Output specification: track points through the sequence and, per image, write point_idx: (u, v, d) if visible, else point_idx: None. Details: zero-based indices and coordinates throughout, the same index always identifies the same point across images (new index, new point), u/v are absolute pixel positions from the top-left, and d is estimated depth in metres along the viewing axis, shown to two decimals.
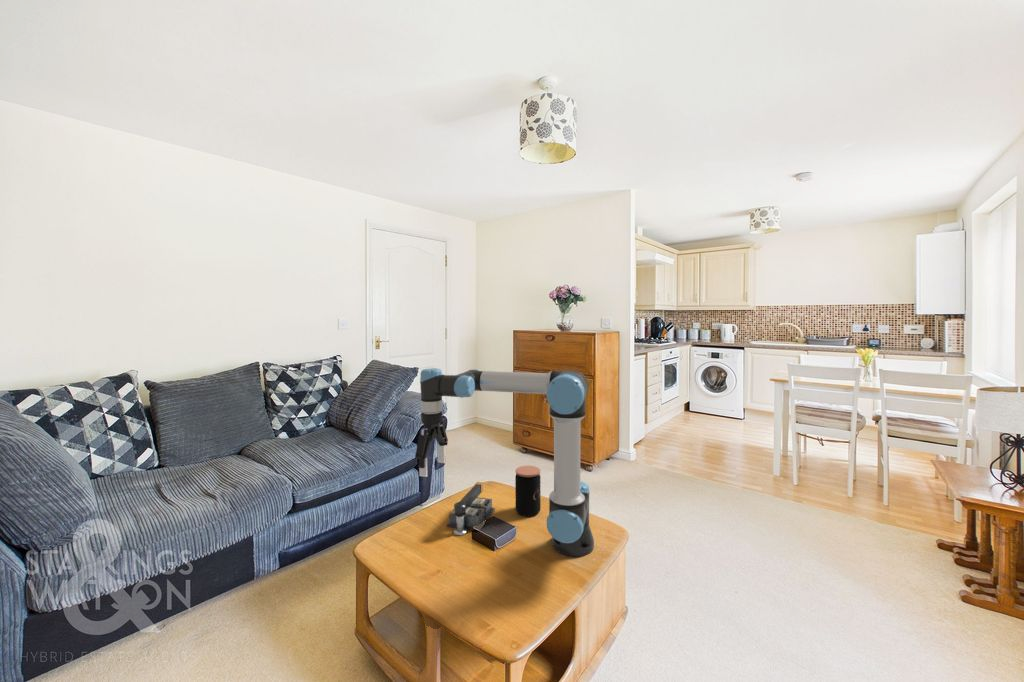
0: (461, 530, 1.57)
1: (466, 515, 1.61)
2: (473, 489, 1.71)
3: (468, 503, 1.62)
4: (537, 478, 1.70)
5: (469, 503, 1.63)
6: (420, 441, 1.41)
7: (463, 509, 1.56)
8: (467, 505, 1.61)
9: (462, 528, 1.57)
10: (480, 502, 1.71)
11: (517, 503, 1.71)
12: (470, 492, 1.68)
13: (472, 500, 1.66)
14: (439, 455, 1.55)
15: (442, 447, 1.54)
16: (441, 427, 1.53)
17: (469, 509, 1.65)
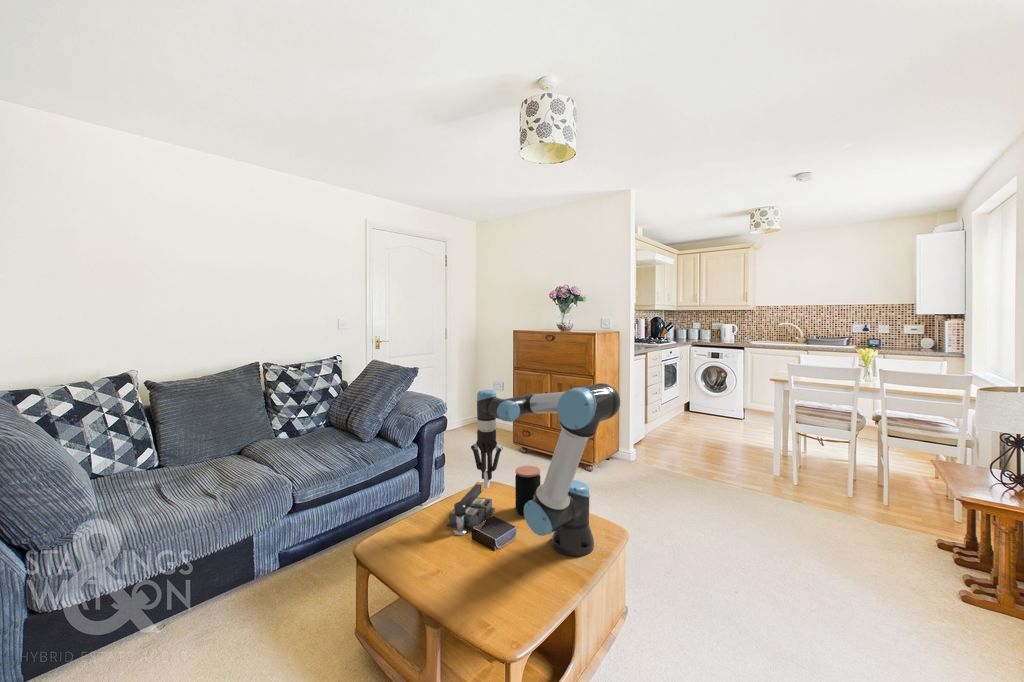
0: (461, 530, 1.57)
1: (466, 515, 1.61)
2: (473, 489, 1.71)
3: (468, 503, 1.62)
4: (537, 478, 1.70)
5: (469, 503, 1.63)
6: None
7: (463, 509, 1.56)
8: (467, 505, 1.61)
9: (462, 528, 1.57)
10: (480, 502, 1.71)
11: (517, 503, 1.71)
12: (470, 492, 1.68)
13: (472, 500, 1.66)
14: None
15: None
16: (496, 452, 1.61)
17: (469, 509, 1.65)
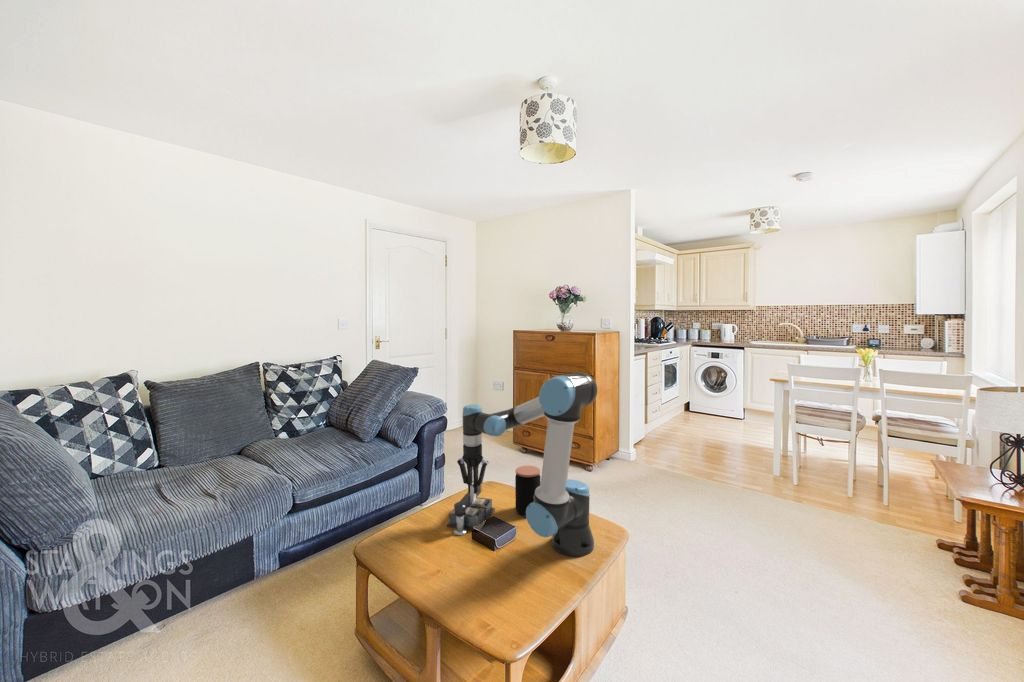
0: (461, 530, 1.57)
1: (466, 515, 1.61)
2: None
3: (468, 503, 1.62)
4: (537, 478, 1.70)
5: (468, 503, 1.63)
6: None
7: (463, 509, 1.56)
8: (466, 505, 1.61)
9: (462, 528, 1.57)
10: (480, 502, 1.71)
11: (517, 503, 1.71)
12: None
13: None
14: None
15: None
16: None
17: (469, 509, 1.65)
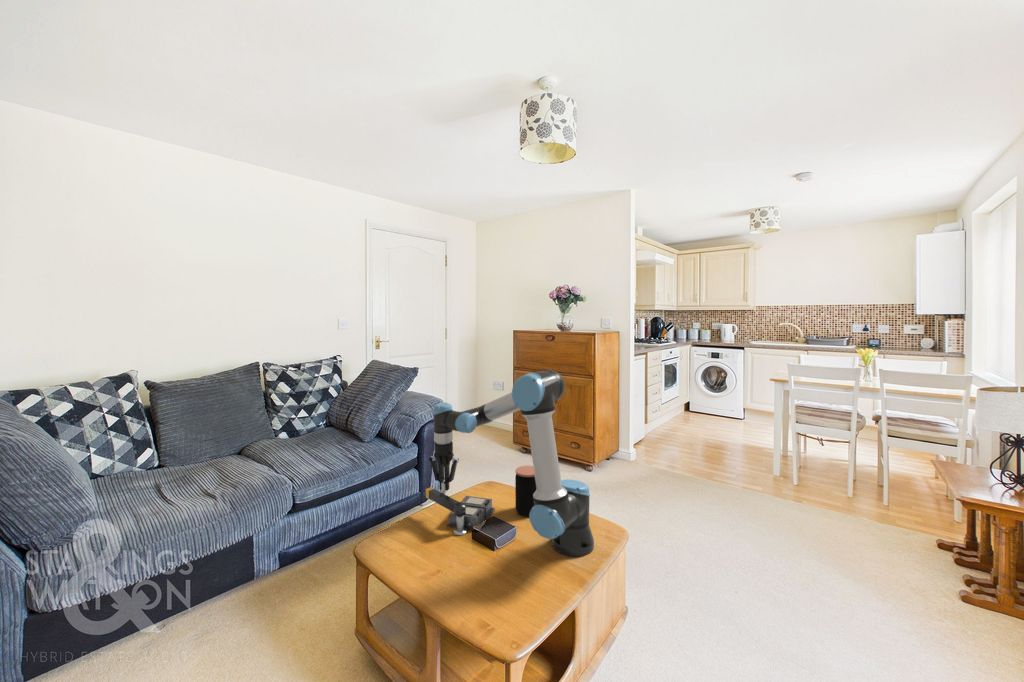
0: (461, 530, 1.57)
1: (466, 515, 1.61)
2: (438, 493, 1.67)
3: None
4: None
5: None
6: None
7: (465, 506, 1.58)
8: None
9: (462, 528, 1.57)
10: (480, 502, 1.71)
11: (517, 503, 1.71)
12: (442, 495, 1.65)
13: None
14: None
15: None
16: None
17: (469, 509, 1.65)
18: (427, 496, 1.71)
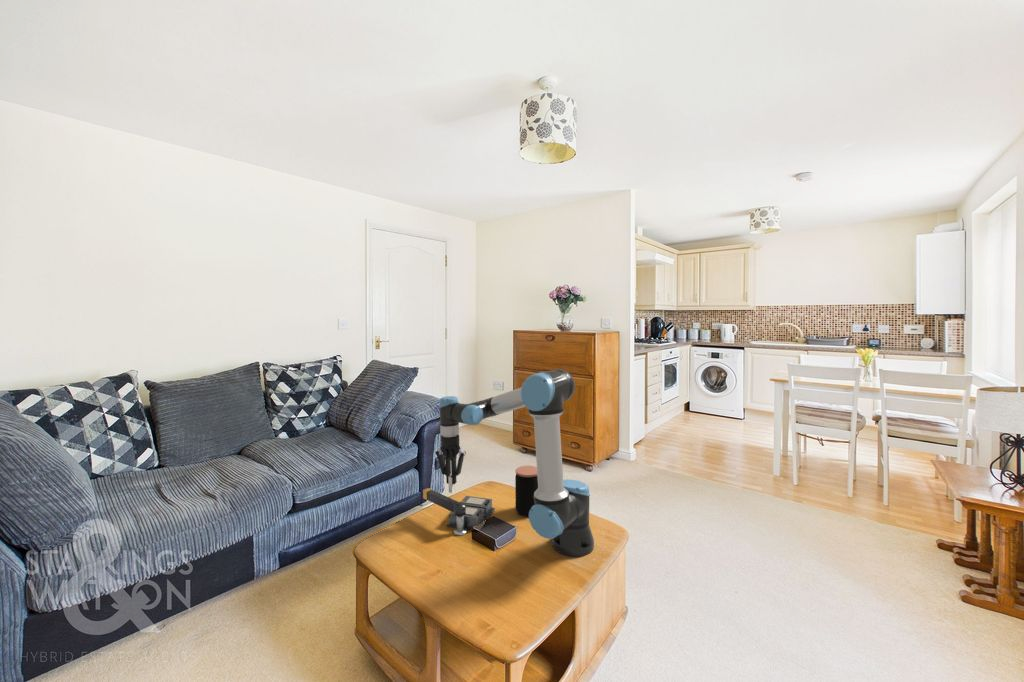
0: (461, 530, 1.57)
1: (466, 515, 1.61)
2: (436, 494, 1.67)
3: None
4: (537, 478, 1.70)
5: None
6: None
7: None
8: None
9: (462, 528, 1.57)
10: (480, 502, 1.71)
11: (517, 503, 1.71)
12: (441, 496, 1.65)
13: None
14: None
15: None
16: None
17: (469, 509, 1.65)
18: (425, 497, 1.70)
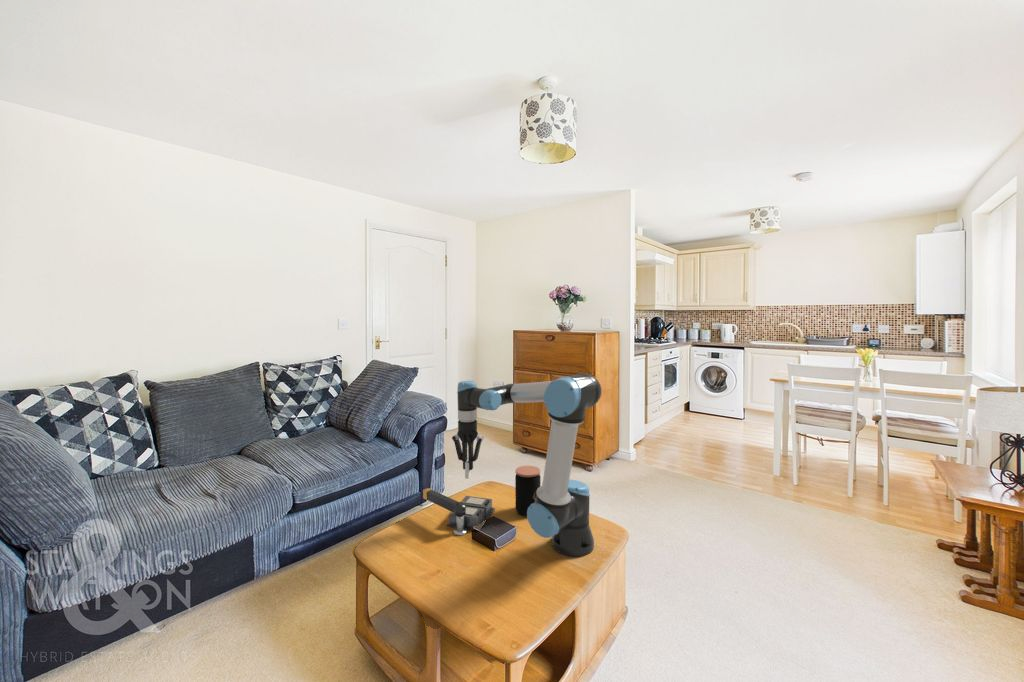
0: (461, 530, 1.57)
1: (466, 515, 1.61)
2: (436, 494, 1.67)
3: None
4: (537, 478, 1.70)
5: None
6: None
7: None
8: None
9: (462, 528, 1.57)
10: (480, 502, 1.71)
11: (517, 503, 1.71)
12: (441, 496, 1.65)
13: None
14: None
15: None
16: None
17: (469, 509, 1.65)
18: (425, 497, 1.70)
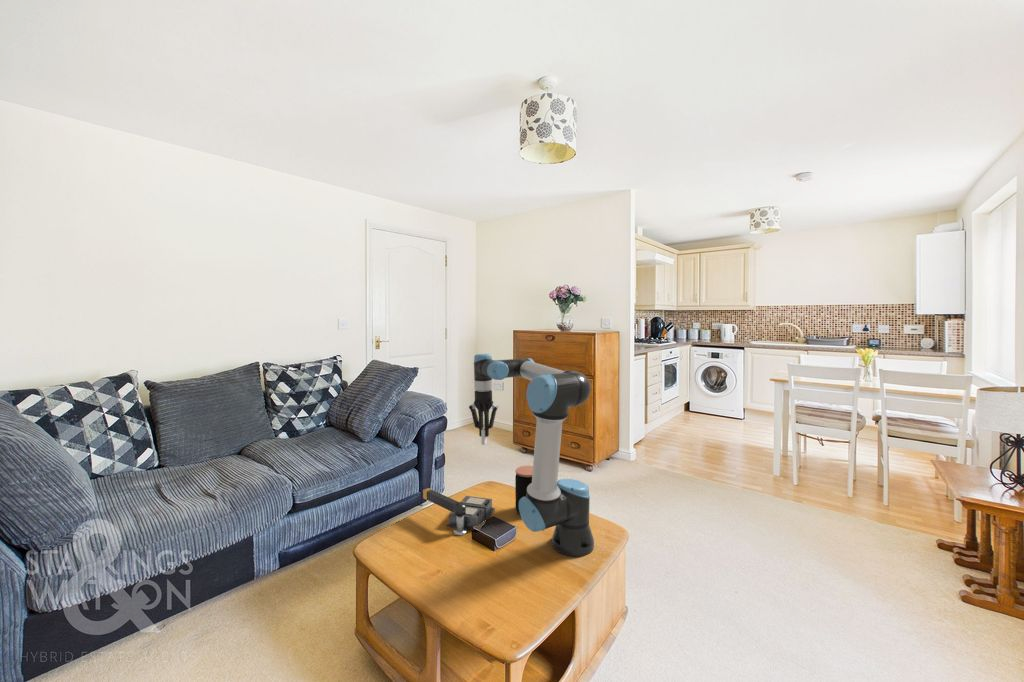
0: (461, 530, 1.57)
1: (466, 515, 1.61)
2: (436, 494, 1.67)
3: None
4: None
5: None
6: None
7: None
8: None
9: (462, 528, 1.57)
10: (480, 502, 1.71)
11: (517, 503, 1.71)
12: (441, 496, 1.65)
13: None
14: None
15: None
16: (492, 411, 1.74)
17: (469, 509, 1.65)
18: (425, 497, 1.70)
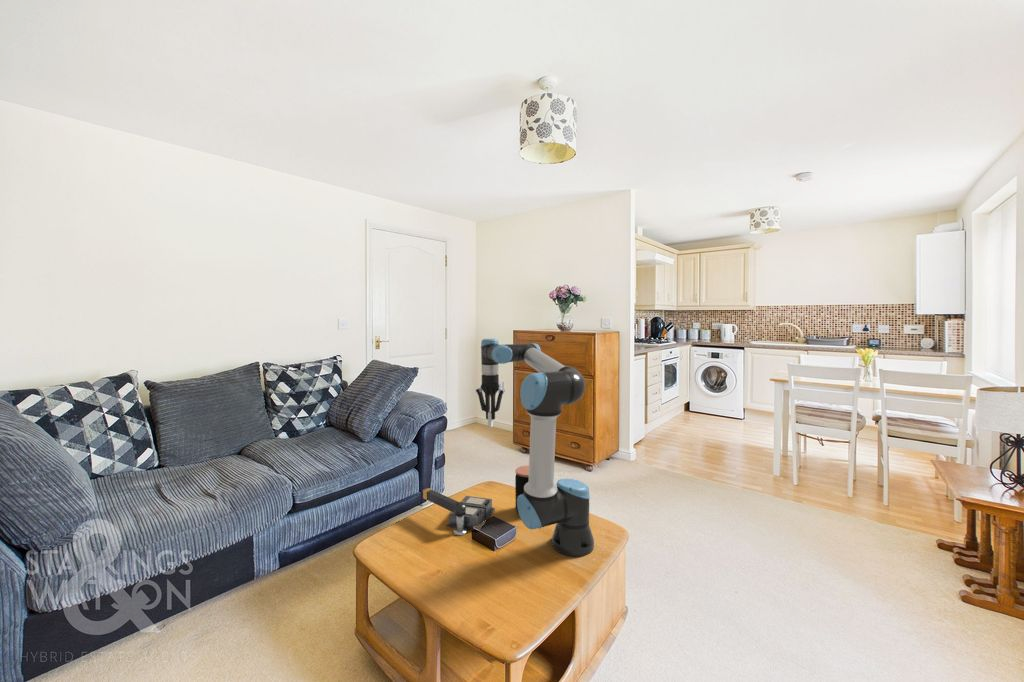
0: (461, 530, 1.57)
1: (466, 515, 1.61)
2: (436, 494, 1.67)
3: None
4: None
5: None
6: None
7: None
8: None
9: (462, 528, 1.57)
10: (480, 502, 1.71)
11: None
12: (441, 496, 1.65)
13: None
14: None
15: None
16: None
17: (469, 509, 1.65)
18: (425, 497, 1.70)
